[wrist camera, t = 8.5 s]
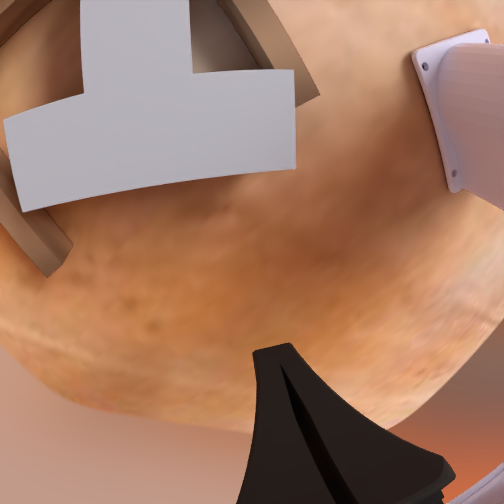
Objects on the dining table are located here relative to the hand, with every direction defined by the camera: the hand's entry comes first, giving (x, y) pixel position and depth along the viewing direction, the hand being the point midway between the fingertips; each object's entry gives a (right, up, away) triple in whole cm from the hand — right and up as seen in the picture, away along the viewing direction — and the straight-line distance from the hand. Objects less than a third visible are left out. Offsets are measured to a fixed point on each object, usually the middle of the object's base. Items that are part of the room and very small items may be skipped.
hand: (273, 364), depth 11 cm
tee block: (-5, +12, 0) cm, 14 cm away
